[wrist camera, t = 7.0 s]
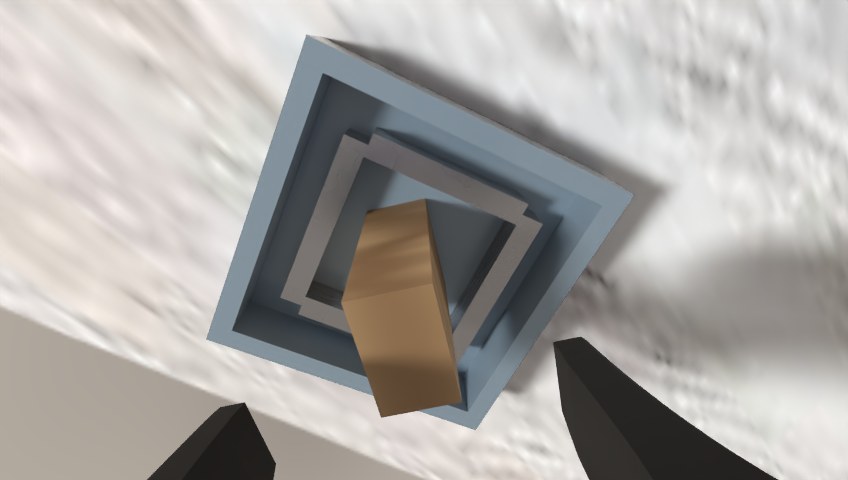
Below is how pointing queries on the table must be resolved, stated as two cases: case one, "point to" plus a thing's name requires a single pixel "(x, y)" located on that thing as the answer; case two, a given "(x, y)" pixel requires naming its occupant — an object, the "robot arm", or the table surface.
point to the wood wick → (402, 311)
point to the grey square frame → (436, 174)
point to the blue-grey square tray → (381, 187)
